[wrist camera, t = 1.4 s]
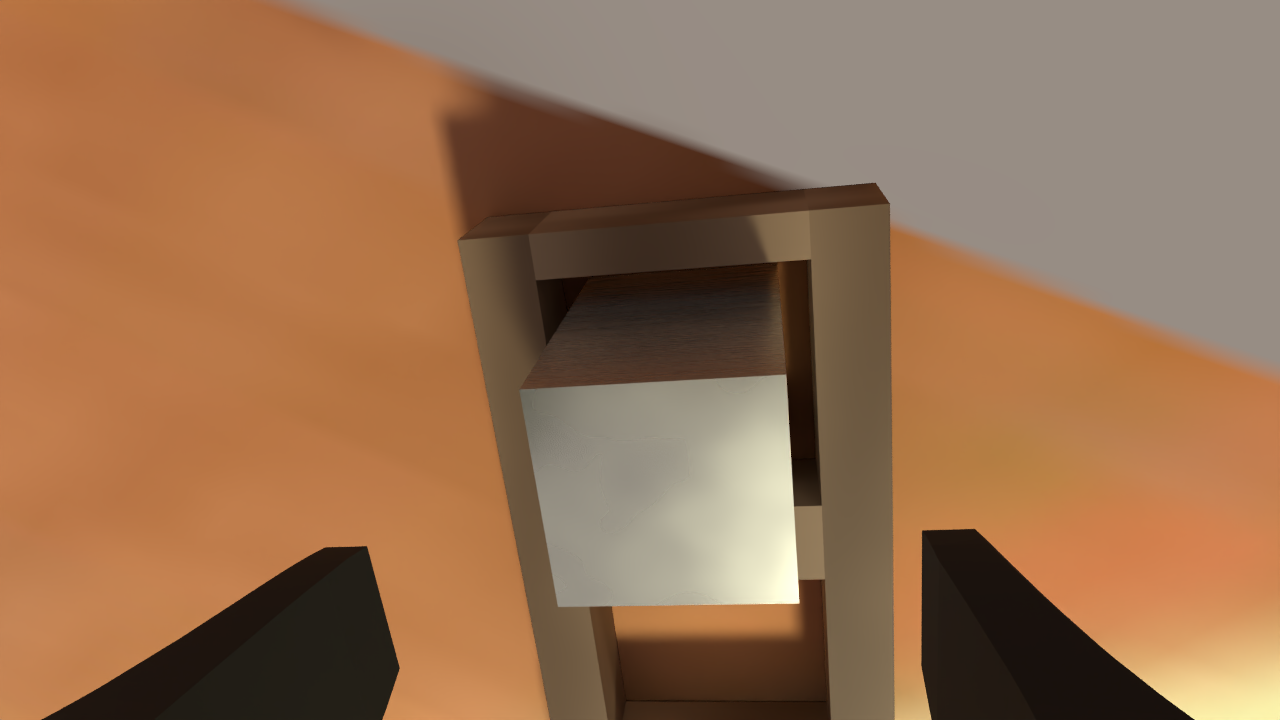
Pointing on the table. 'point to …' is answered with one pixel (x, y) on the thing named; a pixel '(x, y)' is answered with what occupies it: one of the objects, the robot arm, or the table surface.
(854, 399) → the beige slotted frame
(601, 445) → the metal peg
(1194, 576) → the table surface
